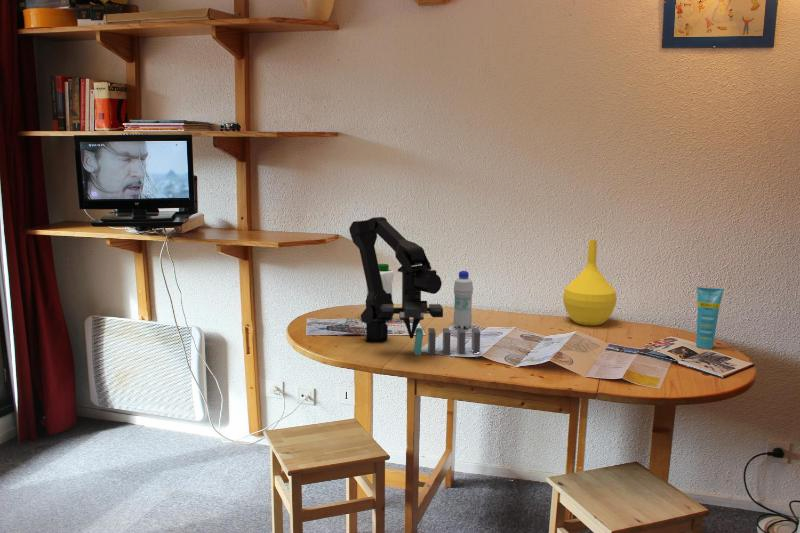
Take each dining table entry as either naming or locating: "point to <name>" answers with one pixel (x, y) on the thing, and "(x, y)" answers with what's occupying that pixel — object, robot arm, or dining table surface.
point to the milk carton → (386, 278)
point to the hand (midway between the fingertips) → (411, 338)
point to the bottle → (463, 300)
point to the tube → (707, 315)
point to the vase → (589, 294)
